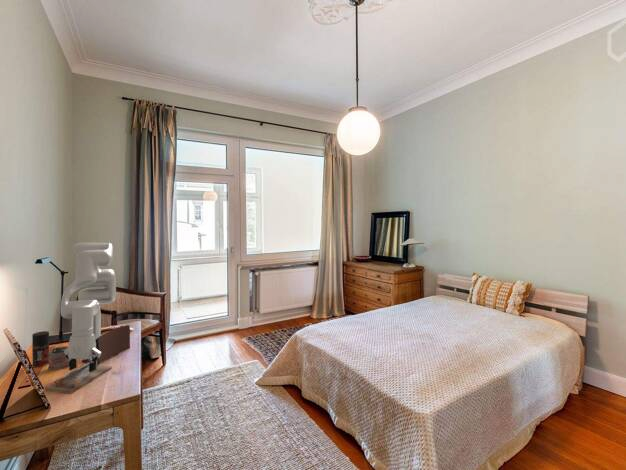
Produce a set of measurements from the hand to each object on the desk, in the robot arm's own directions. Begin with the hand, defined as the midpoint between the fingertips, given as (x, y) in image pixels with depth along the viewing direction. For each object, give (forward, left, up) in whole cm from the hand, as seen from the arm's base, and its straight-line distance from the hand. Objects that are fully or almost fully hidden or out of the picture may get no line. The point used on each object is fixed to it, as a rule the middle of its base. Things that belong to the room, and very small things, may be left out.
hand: (82, 369), depth 135 cm
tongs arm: (+4, +1, -2) cm, 4 cm away
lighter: (-17, -8, -3) cm, 19 cm away
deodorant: (-26, -15, -3) cm, 30 cm away
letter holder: (-20, +11, -4) cm, 23 cm away
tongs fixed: (+1, -1, -2) cm, 3 cm away
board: (+2, -1, -3) cm, 4 cm away
